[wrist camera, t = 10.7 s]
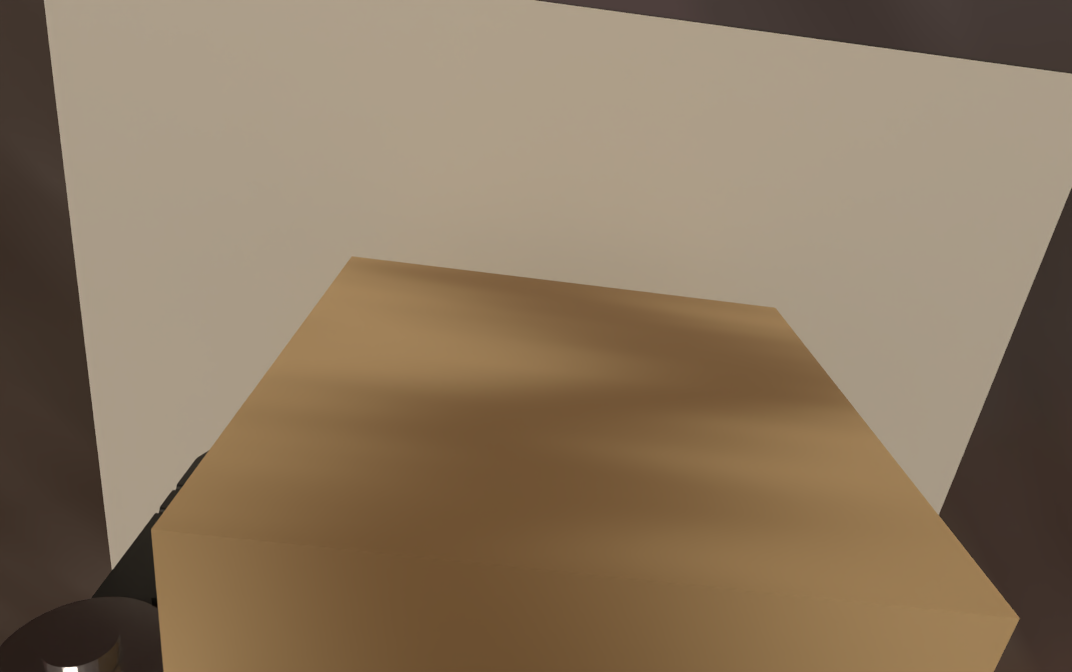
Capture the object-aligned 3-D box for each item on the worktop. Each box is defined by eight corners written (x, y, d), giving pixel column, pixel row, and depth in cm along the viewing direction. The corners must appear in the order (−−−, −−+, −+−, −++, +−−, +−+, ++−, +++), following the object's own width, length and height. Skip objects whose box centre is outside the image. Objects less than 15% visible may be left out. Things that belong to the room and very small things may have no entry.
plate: (1076, 74, 11) (1115, 79, 10) (839, 688, 16) (854, 722, 15) (71, -63, 10) (36, -68, 9) (142, 622, 15) (122, 654, 14)
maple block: (775, 308, 10) (1021, 619, 5) (688, 627, 12) (796, 1071, 7) (352, 256, 10) (151, 530, 5) (340, 593, 12) (194, 1029, 7)
